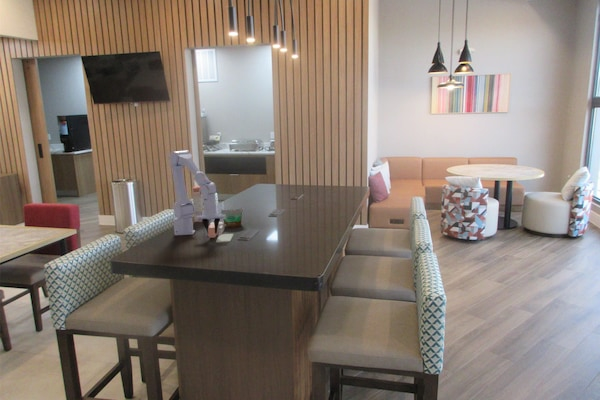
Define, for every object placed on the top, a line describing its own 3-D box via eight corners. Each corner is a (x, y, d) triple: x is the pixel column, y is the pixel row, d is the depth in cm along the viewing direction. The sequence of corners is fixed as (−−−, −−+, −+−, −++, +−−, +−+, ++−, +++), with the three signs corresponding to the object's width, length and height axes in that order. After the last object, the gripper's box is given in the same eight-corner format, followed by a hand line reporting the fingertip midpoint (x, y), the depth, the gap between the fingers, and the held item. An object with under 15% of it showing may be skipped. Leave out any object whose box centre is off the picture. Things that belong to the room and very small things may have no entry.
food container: (222, 229, 235) (221, 211, 234) (221, 226, 241) (220, 209, 239) (245, 226, 239) (244, 209, 237) (243, 224, 244) (242, 207, 243)
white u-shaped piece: (207, 235, 223) (207, 228, 222) (211, 229, 236) (211, 222, 235) (221, 235, 223) (220, 227, 222) (224, 228, 236) (224, 221, 235)
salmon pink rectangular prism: (208, 237, 215) (207, 228, 214) (211, 232, 225) (211, 223, 224) (215, 237, 215) (214, 227, 215) (218, 232, 225) (217, 223, 224)
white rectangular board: (216, 242, 210) (215, 241, 210) (219, 235, 223) (219, 234, 223) (230, 241, 210) (230, 240, 210) (233, 234, 223) (233, 233, 223)
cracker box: (203, 222, 253) (200, 187, 249) (193, 222, 254) (190, 187, 250) (212, 217, 266) (210, 184, 262) (203, 217, 267) (201, 184, 264)
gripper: (194, 209, 210) (196, 236, 213) (223, 208, 211) (225, 234, 213) (196, 206, 217) (199, 232, 220) (225, 205, 218) (227, 231, 220)
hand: (212, 233), depth 217 cm, fingers closed on salmon pink rectangular prism, 3 cm apart
